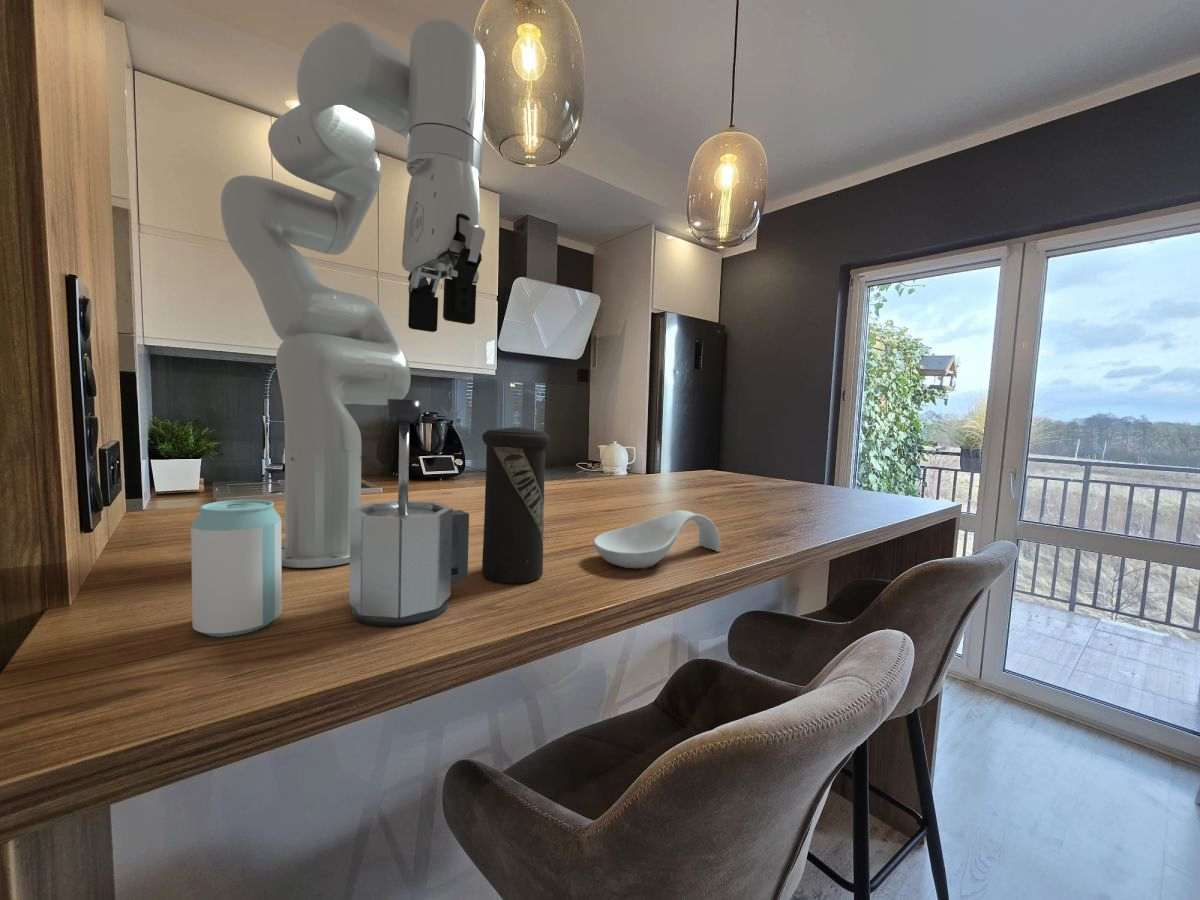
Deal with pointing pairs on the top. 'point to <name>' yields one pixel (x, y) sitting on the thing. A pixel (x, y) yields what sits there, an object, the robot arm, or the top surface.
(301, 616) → the top surface
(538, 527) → the container
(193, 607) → the can
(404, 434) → the plunger
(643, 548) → the spoon rest
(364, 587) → the octagonal grey mug
